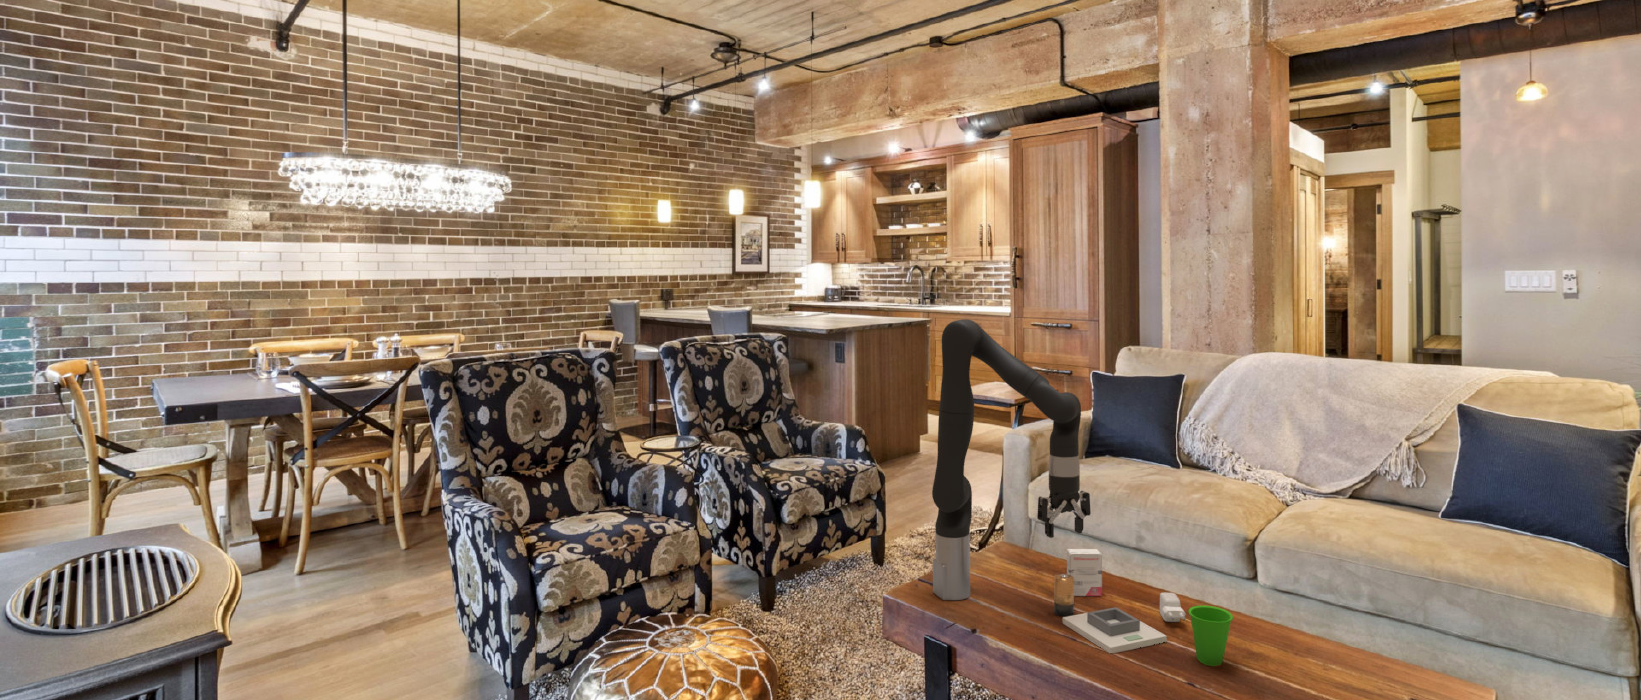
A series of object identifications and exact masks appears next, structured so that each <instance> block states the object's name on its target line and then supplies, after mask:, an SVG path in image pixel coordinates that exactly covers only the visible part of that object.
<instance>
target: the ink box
mask: <svg viewBox="0 0 1641 700" xmlns="http://www.w3.org/2000/svg"><path fill="white" fill-rule="evenodd" d="M1066 574H1068V575H1071V576H1073V577H1074V597H1102V596H1103V554H1102V552H1101V551H1100V550H1099V549H1098V548H1066Z"/></svg>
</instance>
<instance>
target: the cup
mask: <svg viewBox="0 0 1641 700" xmlns="http://www.w3.org/2000/svg"><path fill="white" fill-rule="evenodd" d="M1188 614H1189V615H1190V621H1191V628H1192V629H1191V630H1192V635H1193V642H1194V648H1195V655H1196V659H1197V661H1198V660H1199V661H1200V662H1201V664H1202V663H1203V664H1202V665H1205V666H1209V665H1210V666H1211V667H1217V665H1219V666H1221V665H1222V664H1223V662H1224V657H1225V652H1226V648H1227V643H1228V638H1229V631H1230V629H1231V628H1230V627H1231V622H1232V621H1233V620H1234V615H1233V614H1232V613H1231V612H1230V611H1229V610H1227V609H1224V608H1222V607H1218V606H1214V605H1204V604H1203V605H1194V606H1191V607H1189V609H1188ZM1199 661H1198V662H1199ZM1200 662H1199V663H1200ZM1210 666H1209V667H1210Z"/></svg>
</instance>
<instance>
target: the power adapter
mask: <svg viewBox="0 0 1641 700" xmlns="http://www.w3.org/2000/svg"><path fill="white" fill-rule="evenodd" d="M1159 613H1160V616H1161V617H1162V619H1163V621H1165V622H1167V623H1168V622H1169V623H1179V622H1181V619H1182V620H1183V621H1186V616H1187V613H1186V612H1185V610H1184V609H1183V608H1182V607H1181V600H1180V598H1179V596H1178V595H1177V594H1176V593H1174V592H1161V593H1160V594H1159Z"/></svg>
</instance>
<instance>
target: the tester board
mask: <svg viewBox="0 0 1641 700" xmlns="http://www.w3.org/2000/svg"><path fill="white" fill-rule="evenodd" d="M1062 624H1063V625H1064V626H1066V627H1068V628H1069V629H1071V630H1072V631H1074V632H1075V633H1077V634H1078V635H1080V636H1081V637H1083V638H1085V639H1087V641H1089V642H1091V643H1093V644H1094V645H1096V646H1097V647H1099V648H1100V647H1101V649H1102V648H1103V649H1104V650H1103V649H1102V650H1103V651H1105V650H1106V651H1105V652H1107V653H1108V654H1110V653H1113V654H1116V653H1122V652H1126V651H1131V650H1135V649H1136V650H1137V649H1140V647H1141V648H1146V647H1150V646H1155V645H1159V643H1160V644H1164V643H1163V642H1165V643H1167V640H1168V638H1167V637H1168V636H1167V635H1165V634H1164V633H1163V632H1161V631H1159V630H1157V629H1155V628H1154V627H1151V626H1150V625H1148V624H1146V623H1145V622H1143V621H1141V620H1140V619H1139V618H1136V617H1135V616H1133V615H1132V614H1130V613H1127V612H1125V611H1124V610H1122V609H1120V608H1118V607H1116V606H1115V607H1110V608H1105V609H1100V610H1098V609H1097V610H1093V611H1090V612H1088V611H1087V612H1084V613H1079V614H1074V615H1073V616H1068V617H1062ZM1154 644H1155V645H1154Z"/></svg>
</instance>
